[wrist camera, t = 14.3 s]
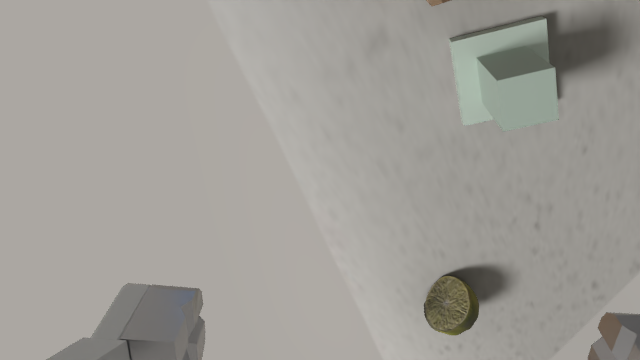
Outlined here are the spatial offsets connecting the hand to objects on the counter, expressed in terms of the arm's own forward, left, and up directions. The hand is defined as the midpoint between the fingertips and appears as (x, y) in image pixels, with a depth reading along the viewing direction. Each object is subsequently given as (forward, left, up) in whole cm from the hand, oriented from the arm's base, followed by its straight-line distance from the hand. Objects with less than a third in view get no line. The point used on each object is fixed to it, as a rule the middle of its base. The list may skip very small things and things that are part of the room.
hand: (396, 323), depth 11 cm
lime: (+25, +1, -31) cm, 40 cm away
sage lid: (+6, +9, -31) cm, 33 cm away
